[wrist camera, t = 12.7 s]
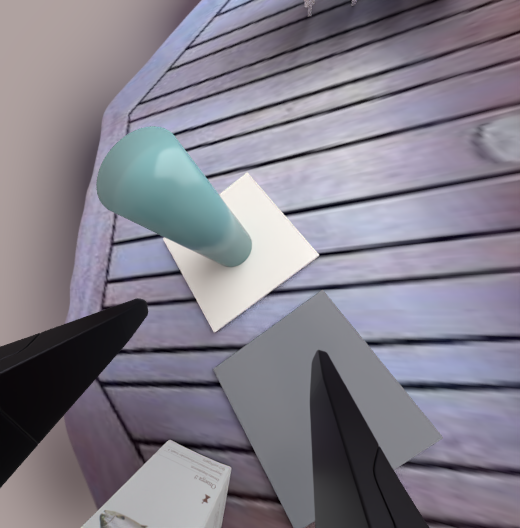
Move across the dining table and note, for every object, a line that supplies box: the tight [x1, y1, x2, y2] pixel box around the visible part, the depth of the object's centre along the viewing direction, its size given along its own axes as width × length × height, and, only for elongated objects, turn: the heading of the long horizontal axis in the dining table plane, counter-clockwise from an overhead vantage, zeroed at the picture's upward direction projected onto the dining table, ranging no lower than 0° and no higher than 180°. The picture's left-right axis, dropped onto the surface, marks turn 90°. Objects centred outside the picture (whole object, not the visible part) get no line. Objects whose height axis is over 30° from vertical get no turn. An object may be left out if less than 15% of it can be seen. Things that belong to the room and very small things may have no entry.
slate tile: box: [213, 290, 443, 528], centre depth 17 cm, size 14×14×1 cm
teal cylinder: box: [97, 126, 252, 267], centre depth 15 cm, size 5×5×13 cm
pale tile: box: [163, 173, 319, 333], centre depth 22 cm, size 14×14×1 cm
